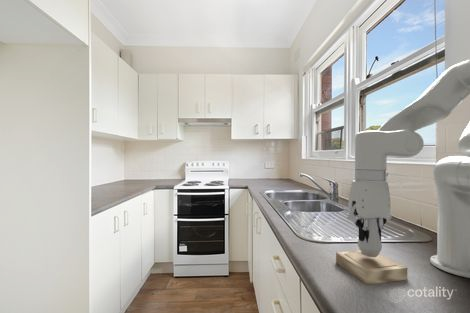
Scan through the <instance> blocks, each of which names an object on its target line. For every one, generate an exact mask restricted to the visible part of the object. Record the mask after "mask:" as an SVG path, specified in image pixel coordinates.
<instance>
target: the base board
mask: <svg viewBox="0 0 470 313" xmlns="http://www.w3.org/2000/svg"><path fill="white" fill-rule="evenodd" d="M335 255H336V256H335V263H336V264H337V265H339V266H340V267H342V268H343V269H344V270H346V271H347V272H349V273H350V275H351V274H352V275H353V276H354V277H355V278H357V279H358V280H360V281H361V282H363V284H365V285H367V286H368V285H374V284H381V283H382V284H383V283H390V282H397V281H406V280H407V281H408V267H406V265H403V264H401V263H399V262H397V261H395V260H392V259H391V258H389V257H387V256H385V255H384V254H381V253H379V255H378V256H377V257H368V256H366V255H363V254H362V253H361V251H360V249H359V250H351V251H347V250H346V251H338V252H335Z"/></svg>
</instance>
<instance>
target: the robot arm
mask: <svg viewBox="0 0 470 313" xmlns="http://www.w3.org/2000/svg"><path fill="white" fill-rule="evenodd" d="M469 95H470V58H468V59H466V60H464V61H461V62H459V63H455V64H454V65H452V66H450V67H449V68H447V69H446V70H445V71H444V72H442V73H441V75H440V76H439V77H438V78H437V79H435V81H434V82H433V83H431V85H430V86H429V87H428V88H427V89H426V90H425V91H424V92H423V93H422V94H421V95H420V96H419V97H418V98H417V99H416V100H414V101H413V102H412V103H410V104H408V105H407V106H406V107H404V108H403V109H401V110H400V111H399V112H397V113H395V115H393V116H392V117H390V118H389V119H388V120H387V121H385V122H384V123H383V124H381V126H380V127H379V128H378V129H377V130H365V131H364V130H363V131H360V132H357V133H356V134H355V138H354V180H352V181H351V184H350V187H349V188H350V189H349V194H348V205H347V206H348V208H347V210H348V215H347V220H348V221H350V222H352V223H353V224H354V225H355V226H356V227H357V229H358V239H359V240H360V241H364V239H365V237H366V241H367V243H368V238H369V230H367V227H368V219H373V218H377V224H378V229H379V230H378V232H379V236H380V240H381V241H382V230H384V225H385V224H386V223H387V222H388V221H389V220H391V219H392V214H391V193H390V187H389V183H388V181H387V178H388V175H389V173H388V172H387V159H390V158H391V159H408V158H412V157H414V156H418V155H419V154H420V153H421V151H422V150H423V148H424V144H425V143H424V139H423V136H421V134H420V133H418V132H416V131H418V130H421V129H424V128H425V127H428V126H429V127H430V126H432V125H434V124H436V123H438V122H440V121H442V120H444V119H447V118H448V117H449V116H450V115H451V114H452V113H453V112H454V111H455V109H456V108H457V107H458V106H460V104H462V102H463V101H464V100H465V99H466V98H467V97H468V96H469ZM457 148H458V150H459V151H460V153H462V154H463V155H452V156H447V157H444V158H441V159H440V160H438V162H436V164H435V166H434V167H433V179H434V183H435V186H436V193H437V230H436V231H437V232H436V234H437V238H436V240H437V246H436V248H437V252H436V254H435V255H431V256H430V258H429V260H430V263H431V264H432V265H433V266H434V267H436V268H438V269H439V270H442V271H444V272H446V273H449V274H453V275H456V276H459V277H464V278H468V279H470V121H469V122H468V124H467V125H466V127H465V129H464V130H463V132H462V134H461V136H460V137H459V138H458V143H457ZM362 221H363V223H362Z"/></svg>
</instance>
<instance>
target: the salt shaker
mask: <svg viewBox="0 0 470 313" xmlns="http://www.w3.org/2000/svg"><path fill="white" fill-rule="evenodd" d="M362 223H363V220H362ZM367 230H369V238H368V243H367V241H366V237H365V239H364V241H360V240H359V238H358V239H357V246H358V249H359V250H360V251H361V253H362V254H363V255H366V256H368V257H377V256H378V255H379V254H381V251H382V248H383V246H382V239H381V240H380V236H379V232H378V230H379V229H378V224H377V218H373V219H368V227H367Z"/></svg>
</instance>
